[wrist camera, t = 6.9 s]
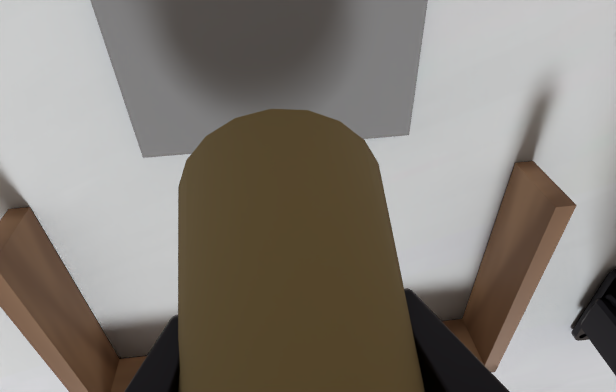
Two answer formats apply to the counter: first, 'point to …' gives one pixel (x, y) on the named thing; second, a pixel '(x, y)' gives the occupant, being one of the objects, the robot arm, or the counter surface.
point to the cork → (289, 263)
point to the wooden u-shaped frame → (119, 372)
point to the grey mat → (261, 63)
